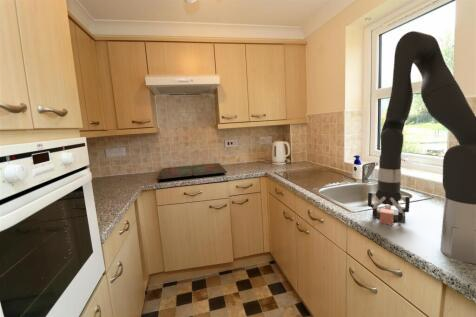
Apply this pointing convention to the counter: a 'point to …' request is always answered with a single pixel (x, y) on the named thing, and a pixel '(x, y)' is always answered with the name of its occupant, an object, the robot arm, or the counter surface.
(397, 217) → the dark grey flat block
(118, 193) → the counter surface
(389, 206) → the breaker tagged
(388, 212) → the pink cube
